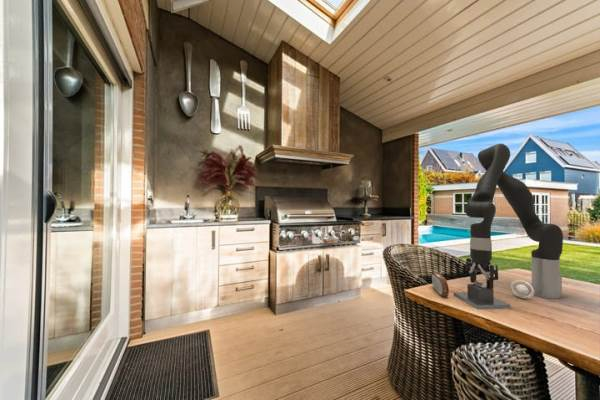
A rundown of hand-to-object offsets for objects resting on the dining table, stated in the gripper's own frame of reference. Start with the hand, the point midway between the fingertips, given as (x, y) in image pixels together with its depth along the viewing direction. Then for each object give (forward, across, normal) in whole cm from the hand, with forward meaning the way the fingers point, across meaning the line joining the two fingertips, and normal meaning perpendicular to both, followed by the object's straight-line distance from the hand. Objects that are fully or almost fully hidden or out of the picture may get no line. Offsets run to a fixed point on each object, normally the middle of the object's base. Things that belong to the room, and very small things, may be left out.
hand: (481, 285), depth 105 cm
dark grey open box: (+5, 0, 0) cm, 5 cm away
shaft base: (+7, 0, 0) cm, 7 cm away
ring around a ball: (+7, -2, +21) cm, 22 cm away
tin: (+7, -12, -11) cm, 18 cm away
